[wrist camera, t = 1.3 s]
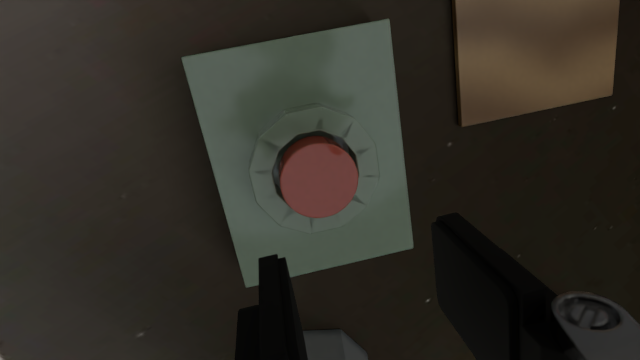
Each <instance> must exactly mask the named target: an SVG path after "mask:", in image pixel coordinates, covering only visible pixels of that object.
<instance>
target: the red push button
mask: <svg viewBox="0 0 640 360" xmlns="http://www.w3.org/2000/svg"><path fill="white" fill-rule="evenodd" d="M278 177H279V183H280V189H281V193H282V196H283V198H284V200H285V201H286V203H287V204H288V205H289V207H290V208H292V209H293V210H294V211H295V212H297V213H299V214H301V215H303V216H306V217H311V218H324V217H328V216H332V215H334V214H336V213H338V212H340V211H341V210H342V209H344V208H345V207H346V206H347V205H348V204H349V203H350V202H351V200H352V199H353V197H354V195H355V193H356V190H357V186H358V171H357V167H356V164H355V162H354V161H353V159H352V158H351V156H350V155H349V154H348V153H347V151H346V150H345V149H344V148H343V147H342V146H341V145H340V144H339V143H337V142H336V141H334V140H333V139H330V138H328V137H324V136H309V137H305V138H302V139H300V140H298V141H296V142H295V143H293V144H292V145H291V146H290V147H289V148H288V149H287V150H286V151H285V152H284V154H283V156H282V158H281V160H280V163H279V168H278Z"/></svg>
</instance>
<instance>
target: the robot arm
mask: <svg viewBox="0 0 640 360" xmlns="http://www.w3.org/2000/svg"><path fill="white" fill-rule="evenodd" d="M431 230H432V241H433V253H434V265H435V276H436V288H437V298H438V302H439V305H440V307H441V309H442V311H443V312H444V313H445V315H446V316H447V318H448V319H449V321H450V322H451V323H452V325H453V326H454V328H455V329H456V331H457V332H458V333H459V335H460V336H461V338H462V339H463V341H464V342H465V343H466V345H467V346H468V348H469V349H470V350H471V352H472V353H473V355H474V356H475V358H476V359H477V360H640V325H639V324H638V323H637V322H636V321H635V320H634V318H633V317H632V316H631V315H630V314H629V313H628V312H627V311H626V310H625V309H624V308H622V307H621V306H620V305H619V304H617V303H616V302H614V301H612V300H610V299H608V298H606V297H603V296H600V295H597V294H594V293H588V292H568V293H563V294H561V295H559V296H558V295H556V294H555V293H554V292H553V291H552V290H550V289H549V288H548V287H547V286H546V285H544V284H543V283H542V282H541V281H540V280H538V279H537V278H536V277H535V276H534V275H532V274H531V273H530V272H529V271H528V270H526V269H525V268H524V267H523V266H522V265H520V264H519V263H518V262H517V261H516V260H514V259H513V258H512V257H511V256H509V255H508V254H507V253H506V252H505V251H503V250H502V249H500V248H499V247H498V246H496V245H495V244H494V243H493V242H492V241H490V240H489V239H488V238H487V237H486V236H484V235H483V234H482V233H481V232H480V231H478V230H477V229H476V228H475V227H474V226H472V225H471V224H470V223H469V222H468V221H466V220H465V219H464V218H463V217H462V216H460V215H459V214H458V213H451V214H447V215H443V216H438V217H437V219H436V222H434V223H432V225H431ZM258 268H259V305H255V306H251V307H247V308H243V309H239V311H238V322H237V337H236V352H235V360H308V357H307V351H306V345H305V340H304V335H303V330H302V326H301V322H300V317H299V313H298V309H297V304H296V300H295V296H294V292H293V287H292V283H291V279H290V275H289V270H288V266H287V262H286V258H285V257H283V258H278V255H277V254H274V255H270V256H265V257H261V258H259V259H258Z"/></svg>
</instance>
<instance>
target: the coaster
mask: <svg viewBox="0 0 640 360" xmlns="http://www.w3.org/2000/svg"><path fill="white" fill-rule="evenodd" d="M619 2H620V0H452V15H453V33H454V51H455V69H456V88H457V106H458V124H459V126H461V127H465V126H470V125H474V124H479V123H484V122H488V121H493V120H498V119H503V118H507V117H512V116H517V115H521V114H526V113H531V112H535V111H540V110H545V109H550V108H554V107H559V106H564V105H568V104H573V103H578V102H583V101H587V100H592V99H597V98H601V97H606V96H611V95H612V92H613V79H614V67H615V54H616V41H617V28H618V15H619Z"/></svg>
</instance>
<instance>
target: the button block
mask: <svg viewBox="0 0 640 360" xmlns="http://www.w3.org/2000/svg"><path fill="white" fill-rule="evenodd" d="M181 60H182V63H183V67H184V70H185V74H186V78H187V81H188V85H189V88H190V92H191V95H192V99H193V102H194V106H195V109H196V113H197V117H198V120H199V124H200V127H201V131H202V134H203V138H204V141H205V145H206V149H207V152H208V156H209V159H210V163H211V166H212V170H213V173H214V177H215V180H216V184H217V188H218V191H219V195H220V198H221V202H222V205H223V209H224V212H225V216H226V220H227V223H228V227H229V230H230V234H231V237H232V241H233V244H234V248H235V252H236V255H237V259H238V262H239V266H240V269H241V273H242V276H243V280H244V283H245V287H246V288H247V287H252V286H256V285H259V268H258V259H259V258H261V257H265V256H270V255H274V254H277V255H278V258H283V257H285V258H286V262H287V266H288V270H289V275H290V277H294V276H298V275H302V274H306V273H311V272H315V271H319V270H323V269H328V268H332V267H336V266H340V265H344V264H349V263H353V262H357V261H361V260H366V259H370V258H374V257H378V256H382V255H387V254H391V253H395V252H399V251H403V250H408V249H412V248H414V246H413V237H412V227H411V218H410V208H409V199H408V190H407V180H406V171H405V161H404V152H403V142H402V133H401V123H400V114H399V105H398V95H397V86H396V76H395V67H394V57H393V48H392V38H391V29H390V20H389V19H383V20H378V21H373V22H367V23H362V24H356V25H351V26H346V27H340V28H335V29H329V30H324V31H318V32H313V33H308V34H302V35H297V36H291V37H286V38H281V39H275V40H270V41H264V42H259V43H254V44H248V45H243V46H237V47H232V48H227V49H221V50H216V51H210V52H205V53H200V54H194V55H189V56H183V57H181ZM309 136H324V137H328V138H330V139H333V140H334V141H336V142H337V143H339V144H340V145H341V146H342V147H343V148H344V149H345V150H346V151H347V153H348V154H349V155H350V156H351V158H352V159H353V161H354V162H355V164H356V167H357V171H358V186H357V190H356V193H355V195H354V197H353V199H352V200H351V202H350V203H349V204H348V205H347V206H346V207H345V208H344V209H342V210H341V211H340V212H338V213H336V214H334V215H332V216H328V217H324V218H311V217H306V216H303V215H301V214H299V213H297V212H295V211H294V210H293V209H292V208H290V207H289V205H288V204H287V203H286V201H285V200H284V198H283V196H282V193H281V189H280V183H279V177H278V168H279V163H280V160H281V158H282V156H283V154H284V152H285V151H286V150H287V149H288V148H289V147H290V146H291V145H292V144H293V143H295V142H296V141H298V140H300V139H302V138H305V137H309Z"/></svg>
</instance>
